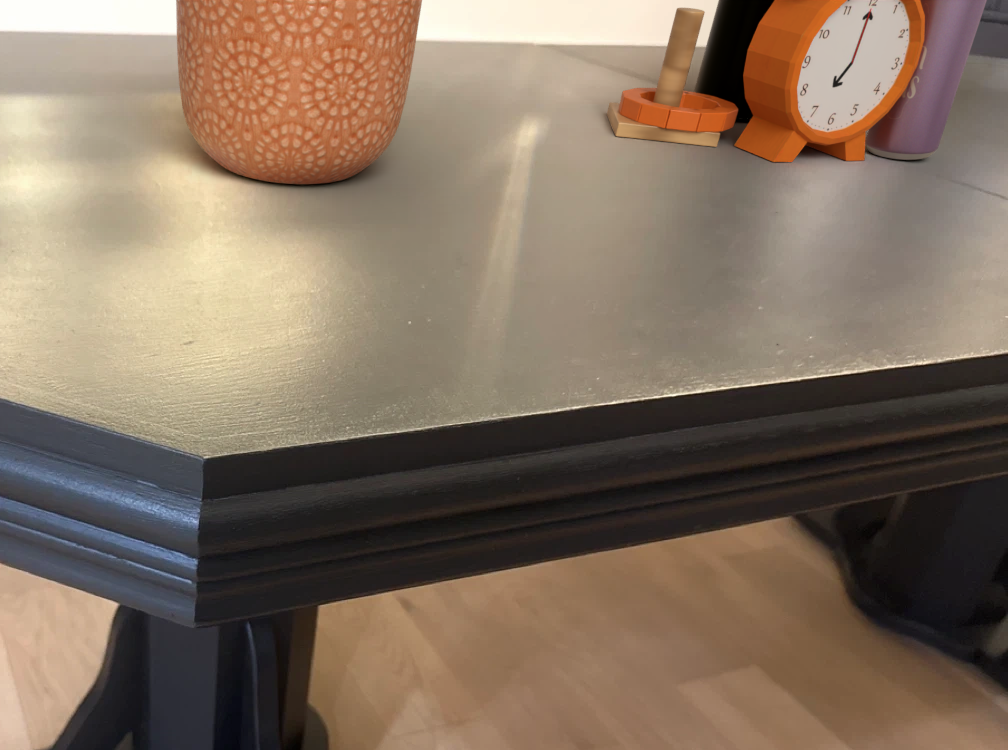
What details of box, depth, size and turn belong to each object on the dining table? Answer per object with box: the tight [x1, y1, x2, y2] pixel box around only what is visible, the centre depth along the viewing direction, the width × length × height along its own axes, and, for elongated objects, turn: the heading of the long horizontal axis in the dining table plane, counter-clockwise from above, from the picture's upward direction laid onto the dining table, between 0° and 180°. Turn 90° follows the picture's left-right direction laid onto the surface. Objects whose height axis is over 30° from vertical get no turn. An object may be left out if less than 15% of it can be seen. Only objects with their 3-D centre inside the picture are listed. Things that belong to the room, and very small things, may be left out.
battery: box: [693, 0, 774, 120], centre depth 99 cm, size 7×7×20 cm
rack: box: [606, 7, 721, 148], centre depth 93 cm, size 9×9×10 cm
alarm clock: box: [733, 0, 925, 163], centre depth 87 cm, size 13×6×20 cm, turn 108°
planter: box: [175, 0, 423, 185], centre depth 73 cm, size 17×17×15 cm
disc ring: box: [619, 87, 738, 133], centre depth 95 cm, size 10×10×2 cm
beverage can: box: [865, 0, 988, 161], centre depth 90 cm, size 6×6×15 cm
